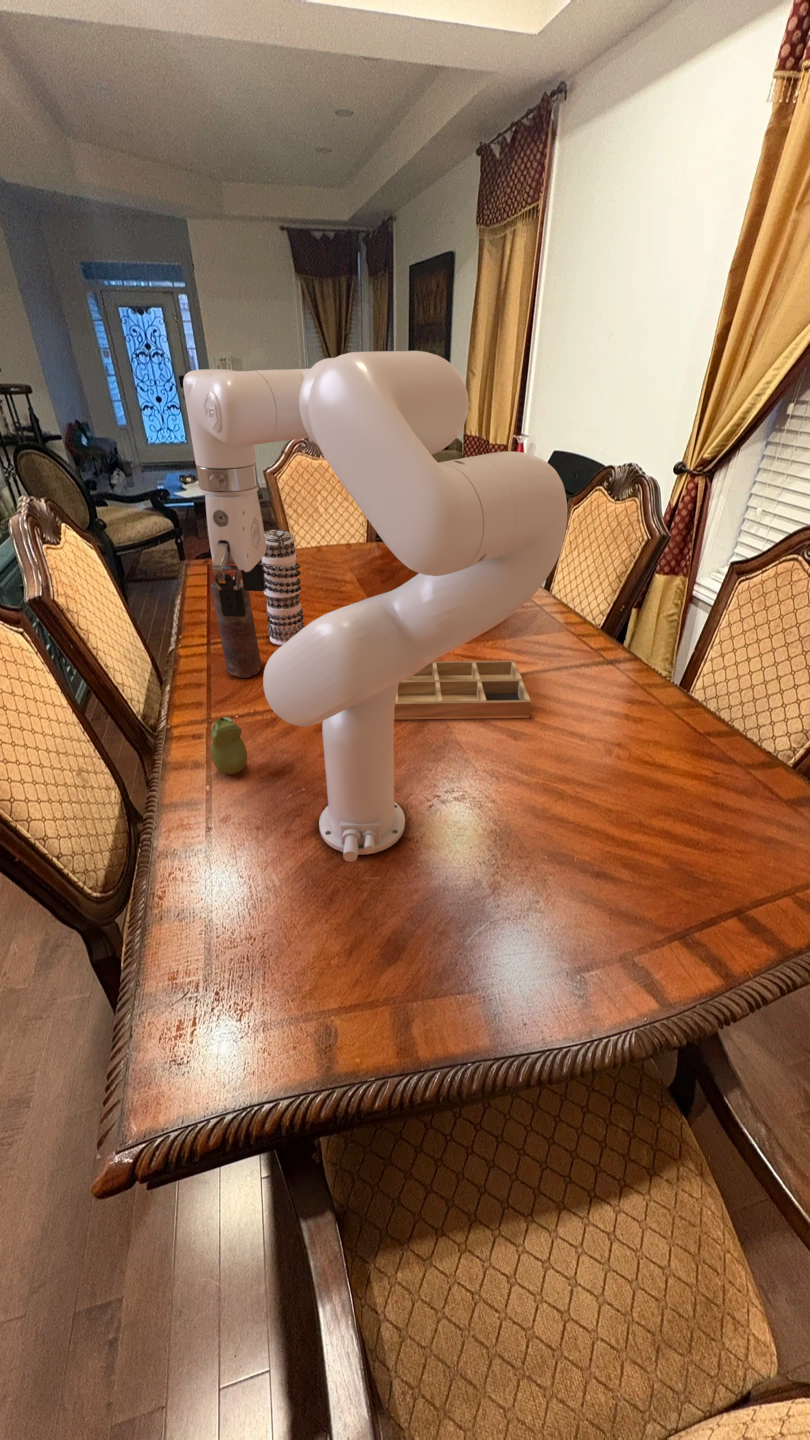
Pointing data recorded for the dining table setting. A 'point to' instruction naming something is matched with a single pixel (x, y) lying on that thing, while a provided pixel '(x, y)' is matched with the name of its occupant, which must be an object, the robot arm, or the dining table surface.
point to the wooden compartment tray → (463, 691)
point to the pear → (227, 746)
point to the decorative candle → (282, 586)
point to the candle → (238, 638)
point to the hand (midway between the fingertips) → (245, 602)
